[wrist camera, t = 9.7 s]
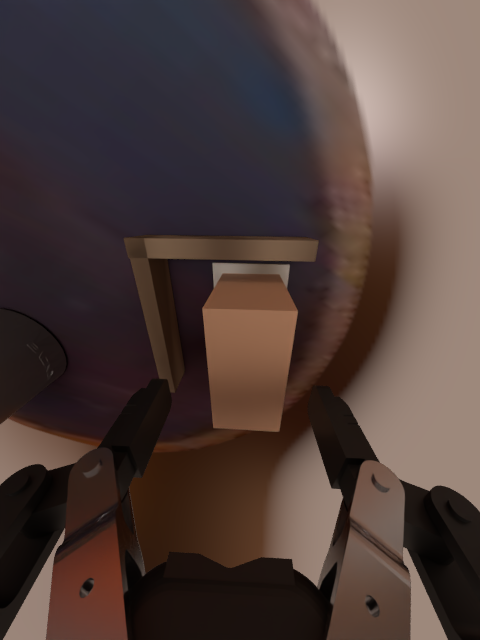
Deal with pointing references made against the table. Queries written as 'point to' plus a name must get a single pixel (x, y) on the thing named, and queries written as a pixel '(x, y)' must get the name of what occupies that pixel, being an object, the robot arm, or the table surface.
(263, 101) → the table surface
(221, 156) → the table surface
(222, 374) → the terracotta block
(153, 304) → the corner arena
